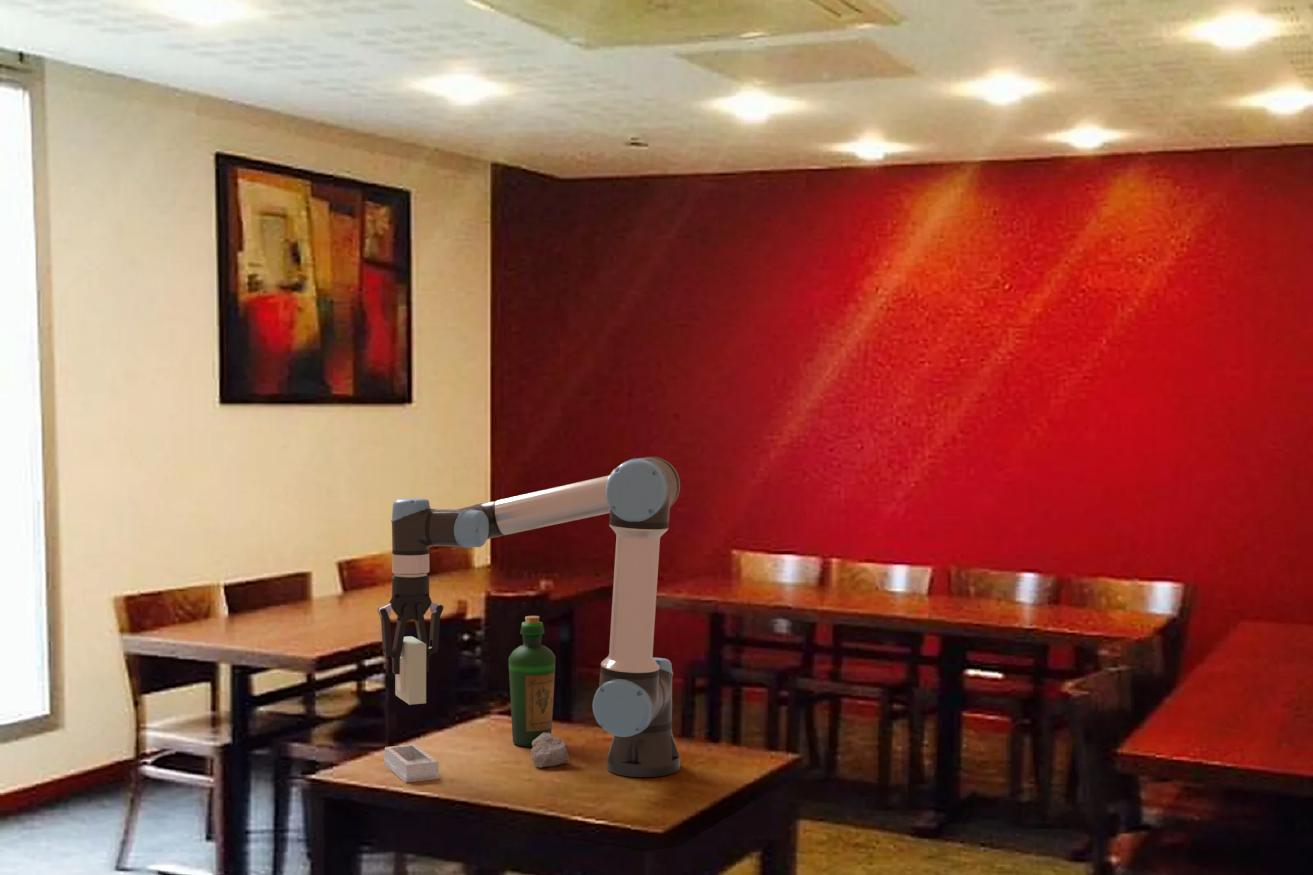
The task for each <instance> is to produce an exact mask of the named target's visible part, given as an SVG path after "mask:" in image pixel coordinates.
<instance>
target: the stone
mask: <svg viewBox="0 0 1313 875" xmlns="http://www.w3.org/2000/svg"><path fill="white" fill-rule="evenodd" d="M566 744H567V743H566V742H564V741H563V740H562V738H561V737H560V736H554V735H553V734H552V732H551V733H546V732H543V733H542V734H541V735H540V736H539V737H537V738H536V739H534V740H533V741H532V746H533V747H531V749H530V754H531V760H532V762H533V765H534V766H535V767H536V768H540V769H542V768H544V767H546V768H547V767H555V766H559V765H564V764H566V763H567V762H569V760H570V756H569V752H568V749H567V746H566Z"/></svg>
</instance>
